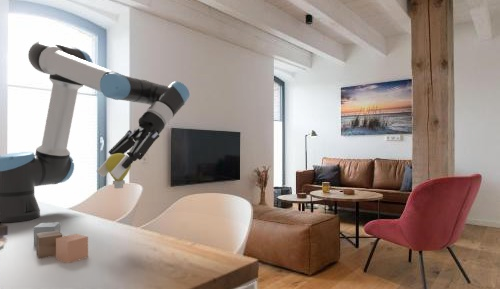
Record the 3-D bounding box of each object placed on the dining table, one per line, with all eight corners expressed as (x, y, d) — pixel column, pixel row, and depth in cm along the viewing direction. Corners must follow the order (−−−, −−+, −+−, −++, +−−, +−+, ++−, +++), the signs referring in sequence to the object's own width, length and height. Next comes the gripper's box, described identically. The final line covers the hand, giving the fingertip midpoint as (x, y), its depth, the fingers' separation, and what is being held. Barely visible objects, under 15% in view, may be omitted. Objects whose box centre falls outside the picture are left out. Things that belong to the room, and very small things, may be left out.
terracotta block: (55, 259, 83) (55, 238, 83) (76, 253, 87) (76, 233, 87) (67, 263, 80) (67, 241, 80) (88, 257, 84) (88, 236, 84)
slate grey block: (40, 240, 98) (40, 223, 98) (60, 239, 99) (60, 222, 99) (33, 246, 93) (33, 227, 93) (54, 245, 94) (54, 226, 94)
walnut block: (36, 253, 87) (36, 233, 87) (59, 249, 90) (58, 230, 90) (39, 258, 83) (38, 237, 83) (62, 254, 86) (62, 234, 86)
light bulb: (100, 188, 98) (100, 153, 98) (117, 185, 105) (117, 152, 105) (120, 190, 96) (120, 153, 96) (136, 187, 102) (135, 152, 102)
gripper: (182, 127, 106) (136, 186, 94) (143, 128, 118) (97, 181, 106) (168, 108, 102) (117, 168, 89) (129, 111, 114) (80, 164, 101)
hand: (107, 175), depth 98 cm, fingers closed on light bulb, 7 cm apart
